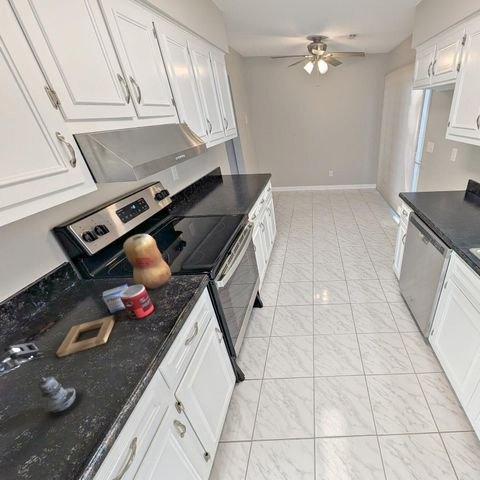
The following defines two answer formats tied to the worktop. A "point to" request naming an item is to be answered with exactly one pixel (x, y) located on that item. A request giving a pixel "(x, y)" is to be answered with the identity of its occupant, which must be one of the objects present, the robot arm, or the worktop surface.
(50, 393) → the grey tall rounded piece
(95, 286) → the worktop surface
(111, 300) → the medicine box
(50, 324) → the can opener
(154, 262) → the butternut squash
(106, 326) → the wooden frame
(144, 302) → the canned food
